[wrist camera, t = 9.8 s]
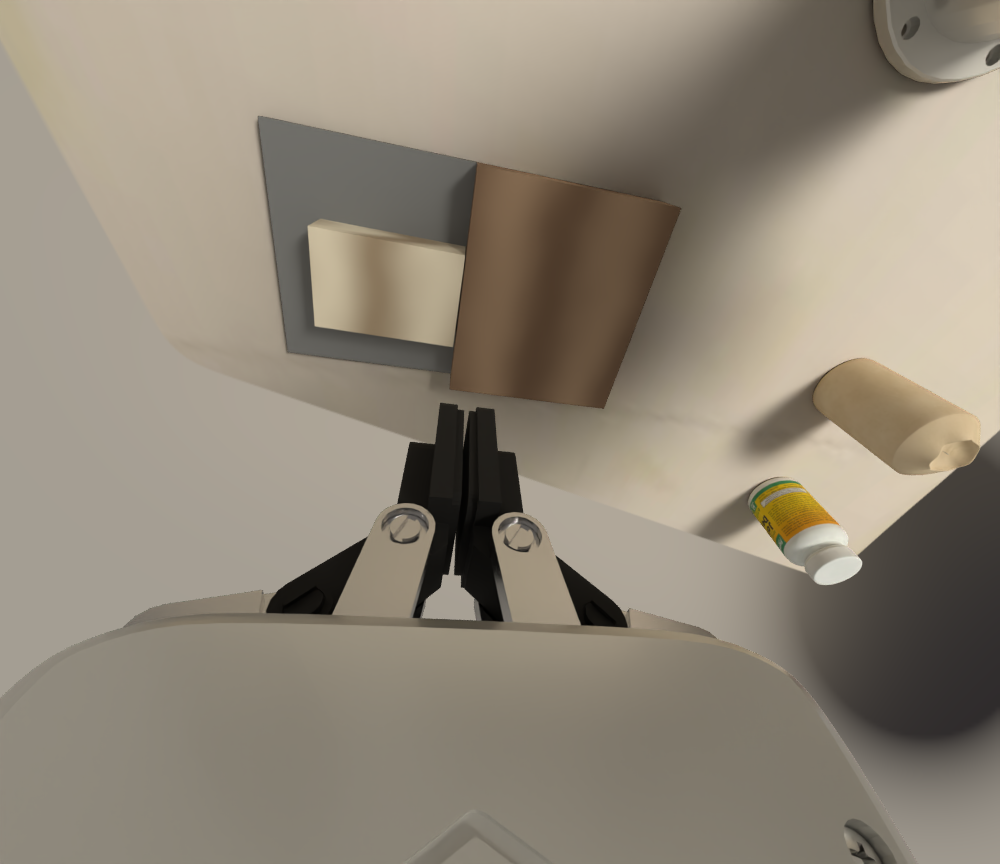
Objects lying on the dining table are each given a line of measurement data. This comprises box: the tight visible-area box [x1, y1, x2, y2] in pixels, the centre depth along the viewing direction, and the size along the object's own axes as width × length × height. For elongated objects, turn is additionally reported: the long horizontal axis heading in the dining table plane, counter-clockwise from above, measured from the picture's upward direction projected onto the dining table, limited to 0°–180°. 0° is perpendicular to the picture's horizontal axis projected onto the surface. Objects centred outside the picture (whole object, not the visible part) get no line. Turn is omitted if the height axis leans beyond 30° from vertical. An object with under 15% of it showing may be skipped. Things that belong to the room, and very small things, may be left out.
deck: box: [450, 162, 681, 409], centre depth 28 cm, size 12×14×3 cm
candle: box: [813, 358, 980, 475], centre depth 32 cm, size 6×6×10 cm
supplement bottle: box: [748, 477, 862, 585], centre depth 39 cm, size 5×5×10 cm
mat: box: [258, 116, 477, 373], centre depth 27 cm, size 12×14×1 cm
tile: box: [308, 219, 465, 347], centre depth 27 cm, size 9×6×2 cm, turn 79°
